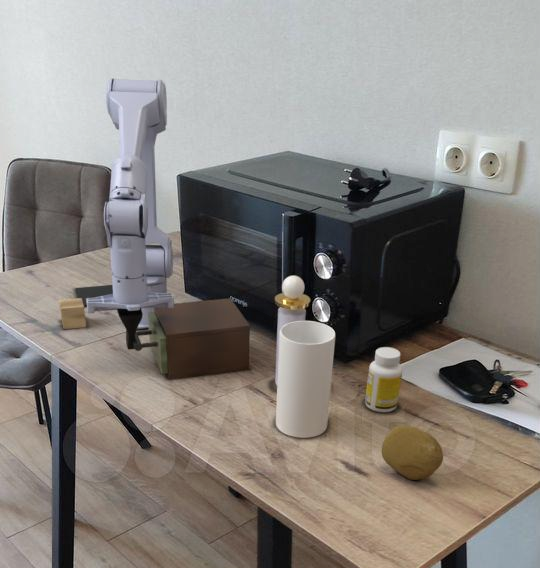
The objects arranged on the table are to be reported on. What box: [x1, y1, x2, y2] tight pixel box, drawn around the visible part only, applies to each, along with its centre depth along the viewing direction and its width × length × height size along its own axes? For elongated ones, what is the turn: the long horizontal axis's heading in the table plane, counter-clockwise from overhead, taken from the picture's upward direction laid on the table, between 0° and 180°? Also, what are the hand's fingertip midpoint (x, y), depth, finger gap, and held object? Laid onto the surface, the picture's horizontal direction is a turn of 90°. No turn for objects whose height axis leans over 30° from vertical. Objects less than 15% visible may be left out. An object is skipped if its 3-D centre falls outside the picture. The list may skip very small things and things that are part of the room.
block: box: [58, 297, 87, 330], centre depth 139 cm, size 4×4×4 cm
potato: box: [381, 425, 444, 481], centre depth 99 cm, size 7×8×8 cm
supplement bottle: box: [364, 346, 403, 413], centre depth 115 cm, size 5×5×10 cm
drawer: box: [133, 312, 168, 375], centre depth 126 cm, size 18×11×7 cm, turn 108°
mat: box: [74, 284, 113, 308], centre depth 152 cm, size 10×10×1 cm
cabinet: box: [153, 297, 251, 380], centre depth 127 cm, size 15×13×9 cm
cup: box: [275, 320, 336, 439], centre depth 108 cm, size 8×8×16 cm
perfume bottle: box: [273, 275, 311, 386], centre depth 117 cm, size 6×6×20 cm
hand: (133, 346), depth 124 cm, fingers closed, pressing on drawer
